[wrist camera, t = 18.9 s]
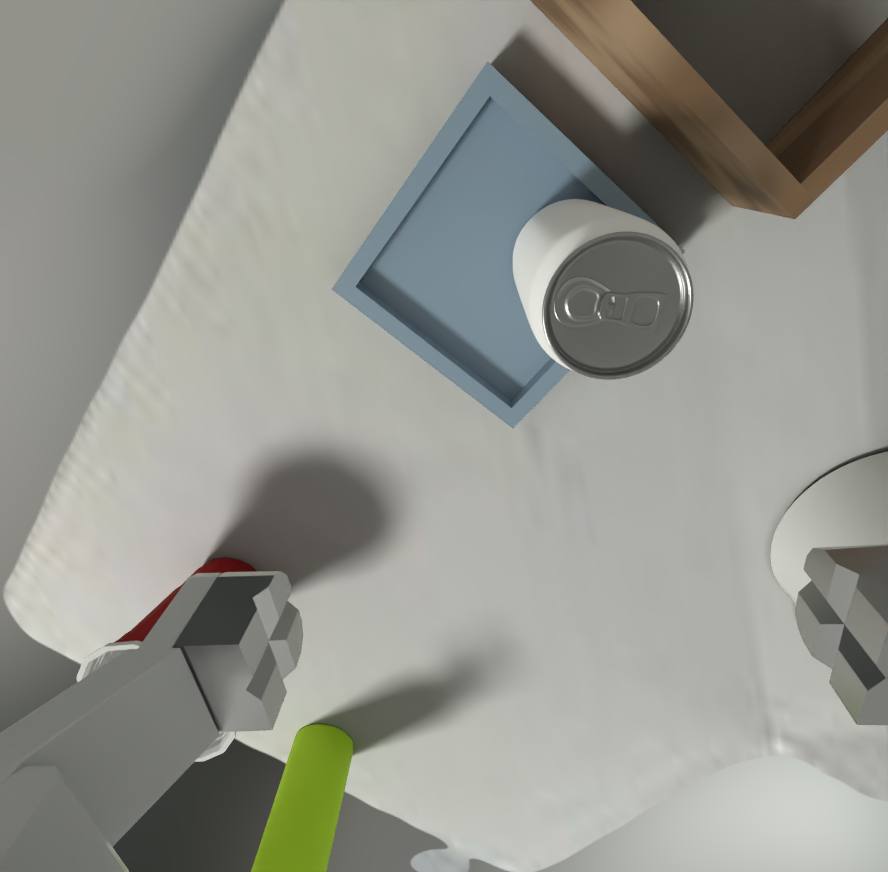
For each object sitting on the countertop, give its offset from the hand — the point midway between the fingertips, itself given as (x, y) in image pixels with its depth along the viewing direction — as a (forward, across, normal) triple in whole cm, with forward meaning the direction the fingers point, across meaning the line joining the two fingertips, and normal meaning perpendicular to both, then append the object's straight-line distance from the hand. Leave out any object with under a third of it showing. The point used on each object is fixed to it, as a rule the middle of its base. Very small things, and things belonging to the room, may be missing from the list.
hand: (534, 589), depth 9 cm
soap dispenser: (+27, +21, +43) cm, 55 cm away
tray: (+27, 0, 0) cm, 27 cm away
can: (+26, -4, 0) cm, 27 cm away
